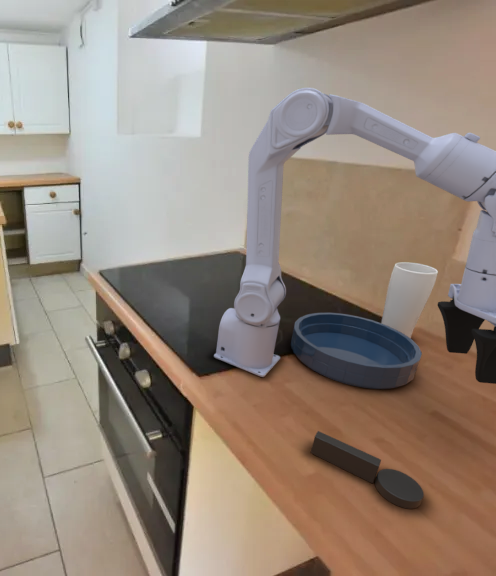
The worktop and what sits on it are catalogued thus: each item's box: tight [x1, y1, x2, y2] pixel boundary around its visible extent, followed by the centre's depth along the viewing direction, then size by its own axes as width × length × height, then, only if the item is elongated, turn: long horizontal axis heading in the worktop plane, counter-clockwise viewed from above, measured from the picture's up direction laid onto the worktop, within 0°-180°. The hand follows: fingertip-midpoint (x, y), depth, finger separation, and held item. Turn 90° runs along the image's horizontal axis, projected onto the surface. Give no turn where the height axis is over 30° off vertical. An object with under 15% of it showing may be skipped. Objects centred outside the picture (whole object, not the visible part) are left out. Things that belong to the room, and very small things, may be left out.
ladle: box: [310, 430, 425, 510], centre depth 46 cm, size 12×4×3 cm, turn 48°
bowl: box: [290, 312, 423, 390], centre depth 69 cm, size 20×20×4 cm
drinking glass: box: [380, 261, 439, 339], centre depth 75 cm, size 7×7×15 cm
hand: (471, 365), depth 51 cm, fingers open, 7 cm apart
